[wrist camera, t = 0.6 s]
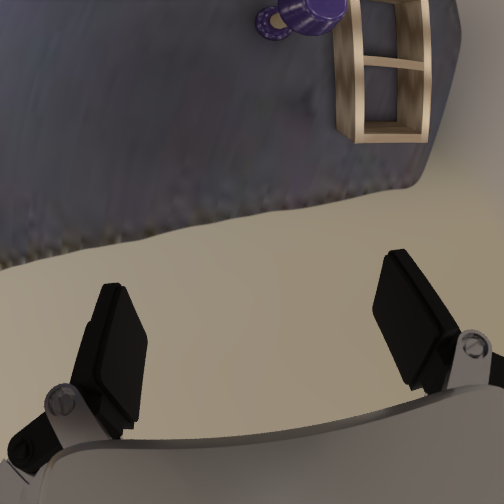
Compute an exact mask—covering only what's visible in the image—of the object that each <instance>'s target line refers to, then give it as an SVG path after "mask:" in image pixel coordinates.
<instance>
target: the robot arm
mask: <svg viewBox="0 0 504 504" xmlns="http://www.w3.org/2000/svg"><path fill="white" fill-rule="evenodd" d="M372 310H373V315H374V317H375V320H376V322H377V323H378V326H379V328H380V330H381V332H382V334H383V336H384V339H385V341H386V343H387V345H388V347H389V350H390V352H391V354H392V356H393V358H394V361H395V363H396V365H397V367H398V370H399V372H400V374H401V377H402V379H403V381H404V383H405V384H407V385H408V384H409V387H410V389H411V391H413V390H416V389H419V388H422V387H423V389H424V391H425V395H424V397H422V398H419V399H416V400H413V401H409V402H406V403H402V404H399V405H396V406H392V407H389V408H385V409H382V410H378V411H375V412H371V413H367V414H363V415H359V416H355V417H350V418H346V419H342V420H338V421H332V422H328V423H323V424H318V425H312V426H307V427H302V428H295V429H290V430H282V431H276V432H269V433H260V434H252V435H242V436H231V437H219V438H202V439H171V440H133V439H130V440H124V439H123V438H122V435H123V429H134V422H137V421H138V419H139V409H140V400H141V391H142V382H143V374H144V366H145V358H146V351H147V344H148V341H147V335H146V333H145V330H144V328H143V326H142V324H141V322H140V319H139V317H138V315H137V313H136V311H135V308H134V306H133V304H132V301H131V299H130V297H129V294H128V292H127V289H126V287H125V286H121V284H120V283H108V284H104V285H103V286H102V289H101V291H100V294H99V298H98V300H97V303H96V306H95V309H94V312H93V315H92V318H91V321H89V322H88V324H87V326H86V328H85V331H84V335H83V338H82V341H81V344H80V348H79V351H78V354H77V358H76V361H75V365H74V369H73V372H72V376H71V380H70V384H68V383H63V384H59V385H57V386H55V387H53V388H52V389H51V390H50V391H49V392H48V394H47V395H46V398H45V401H44V408H45V412H44V413H43V414H41V415H40V416H39V417H37V418H36V419H35V420H33V421H32V422H31V423H30V424H28V425H27V426H26V427H24V428H23V429H22V430H21V431H19V432H18V433H17V434H16V435H14V437H12V439H11V440H10V442H9V444H8V449H7V450H8V457H9V458H8V459H7V460H5V459H3V461H2V462H1V463H0V504H504V357H503V356H500V355H498V354H496V353H494V352H492V346H491V343H490V341H489V340H488V338H487V337H486V336H485V335H484V334H482V333H481V332H479V331H476V330H466V331H463V332H461V331H460V329H459V327H458V325H457V323H456V322H455V320H454V319H453V317H452V316H451V314H450V313H449V311H448V309H447V308H446V306H445V305H444V303H443V302H442V301H441V299H440V297H439V296H438V294H437V293H436V291H435V290H434V289H433V287H432V286H431V284H430V283H429V282H428V280H427V279H426V277H425V276H424V274H423V273H422V271H421V270H420V269H419V267H418V266H417V265H416V263H415V262H414V261H413V259H412V258H411V256H410V255H409V254H408V253H407V251H406V250H405V249H399V250H391V251H389V253H388V255H385V257H384V260H383V265H382V270H381V274H380V278H379V282H378V287H377V291H376V295H375V299H374V302H373V307H372Z"/></svg>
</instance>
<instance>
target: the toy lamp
mask: <svg viewBox="0 0 504 504" xmlns="http://www.w3.org/2000/svg"><path fill="white" fill-rule="evenodd" d="M347 6H348V4H347V0H278V7H276V6H271V7H267V8H264V9H262V10H261V11H260V12H259V13H258V14H257V16H256V20H255V26H256V29H257V31H258V32H259V34H261V35H262V36H263V37H264V38H267V39H269V40H282V39H284V38H286V37H287V36H289V35H290V34H291V32H292V30H293V31H295V32H297V33H299V34H302V35H306V36H318V35H323V34H325V33H327V32H329V31H331V30H332V29H333V28H334V27H335V26H336V25H337V24H338V23H339V22H340V20H341V19H342V18H343V17H344V15H345V13H346V11H347Z"/></svg>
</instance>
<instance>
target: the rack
mask: <svg viewBox="0 0 504 504" xmlns="http://www.w3.org/2000/svg"><path fill="white" fill-rule="evenodd" d="M371 1H378V2H384V3H390V4H394V6H395V19H396V35H397V59H396V58H387V57H376V56H363V40H362V24H361V12H360V1H359V0H347V4H348V6H347V11H346V13H345V15H344V17H343V18H342V19H341V20H340V22H339V23H338V24H337V25H336V26H335V27H334V28H333V29H332V33H333V47H334V65H335V89H336V130H337V131H339V132H340V133H342V134H343V135H344V136H346V137H347V138H349V139H350V140H351V141H353V142H354V143H384V142H422V143H427V142H428V131H429V123H430V107H431V79H432V74H431V35H430V17H429V5H428V0H371ZM364 65H373V66H386V67H396V68H398V94H397V122H387V121H364Z"/></svg>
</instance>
